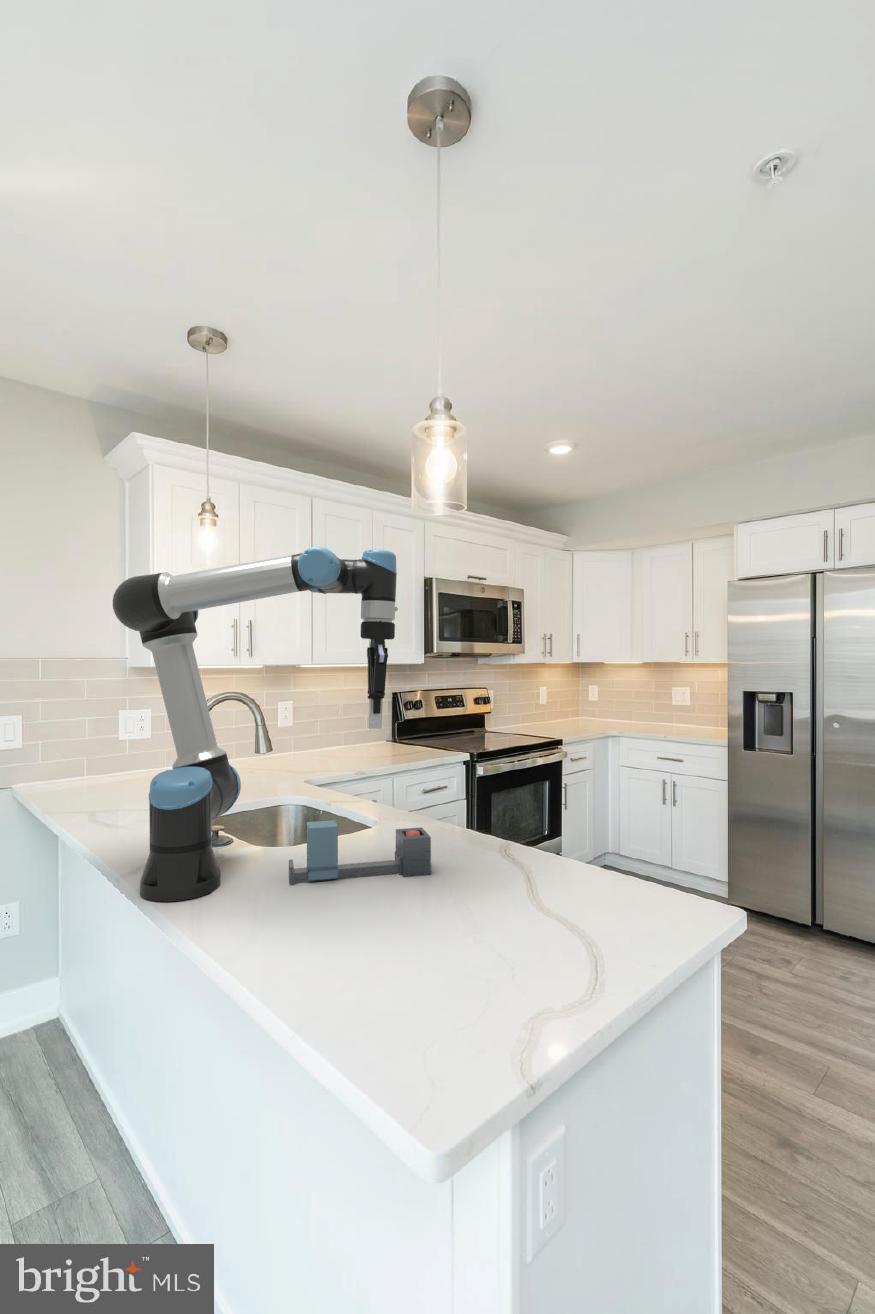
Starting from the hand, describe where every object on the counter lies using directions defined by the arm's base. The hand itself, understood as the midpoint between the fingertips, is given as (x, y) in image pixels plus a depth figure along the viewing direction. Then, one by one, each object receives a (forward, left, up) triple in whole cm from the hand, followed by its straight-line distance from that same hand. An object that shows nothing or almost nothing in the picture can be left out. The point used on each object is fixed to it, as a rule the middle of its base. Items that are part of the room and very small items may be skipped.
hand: (375, 728), depth 142 cm
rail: (-7, -4, -31) cm, 32 cm away
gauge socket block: (+8, -4, -31) cm, 32 cm away
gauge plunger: (+8, -4, -29) cm, 30 cm away
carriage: (-12, -4, -30) cm, 33 cm away
